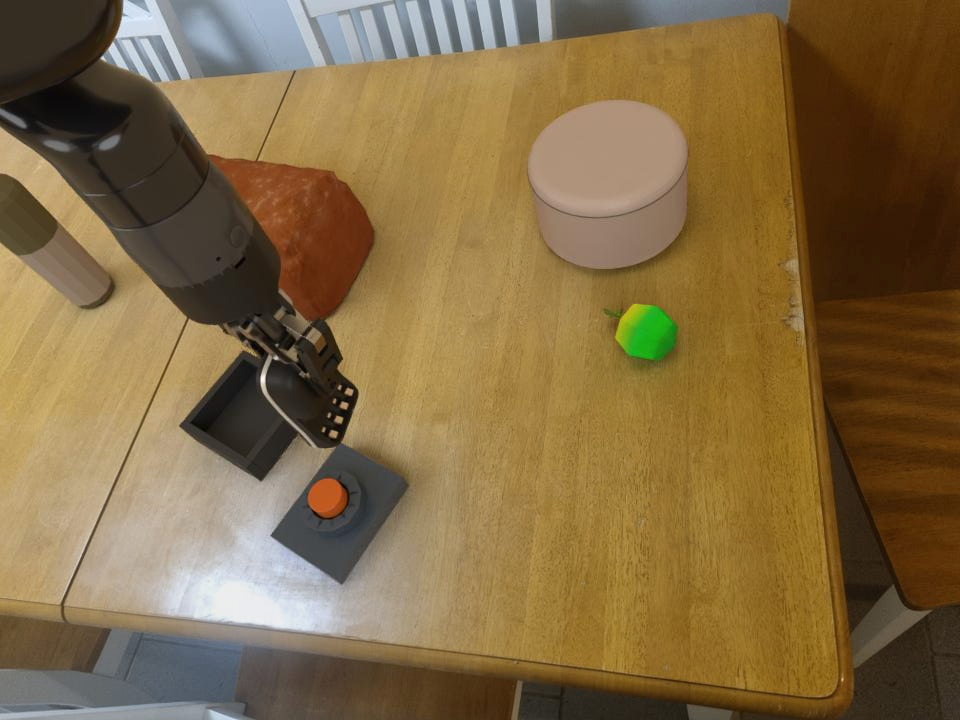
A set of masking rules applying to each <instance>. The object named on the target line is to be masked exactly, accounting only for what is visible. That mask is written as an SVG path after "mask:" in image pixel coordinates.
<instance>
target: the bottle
mask: <svg viewBox="0 0 960 720" xmlns="http://www.w3.org/2000/svg"><path fill="white" fill-rule="evenodd" d="M0 244H1V245H3V247H4V248H6V249H7V250H8V251H9V252H11V253H12V254H13V255H14V256H15V257H16V258H18V259H19V260H20V261H21V262H22V263H24V264H25V265H26V266H28V267H29V268H30V269H31V270H32V271H34V272H35V273H36V274H37V275H38V276H39V277H40V278H41V279H43V280H44V282H47V283H48V284H49V285H50V286H51V287H52V288H54V289H55V290H56V291H57V292H58V293H60V295H62V296H63V297H64V298H66V300H67V301H69V302H70V303H71V304H73V305H75V306H77V307H79V308H81V309H82V310H83V309H93V308H95V307H97V306H98V305H100V304H103V303H104V302H105V301H106V299H108V298H109V296H110V295H112V291H113V289H114V287H115V285H114V281H113V278H112V276H111V275H110V273H109V272H108V271H107V270H106V269H105V268H104V267H103V266H102V265H101V264H100V263H99V261H97V260H96V259H95V258H94V257H93V256H92V255H91V253H90V252H88V251H87V249H85V248H84V246H83V245H81V243H80V242H79V241H78V240H77V239H76V238H75V237H74V236H73V235H72V234H71V233H70V232H69V231H68V230H67V229H66V228H65V227H64V225H62V224H61V223H60V222H59V220H58V219H57V218H55V217H54V215H53V214H52V213H51V212H50V211H49V210H48V209H47V208H46V207H45V206H44V205H43V204H42V203H41V202H40V201H39V200H38V199H37V198H36V197H35V196H34V195H33V193H31V192H30V191H29V190H28V189H27V188H26V187H25V186H24V184H23V183H22V182H21V181H19V180H18V179H16V178H15V177H13V176H11V175H9V174H7V173H1V172H0Z"/></svg>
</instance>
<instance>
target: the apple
mask: <svg viewBox="0 0 960 720" xmlns="http://www.w3.org/2000/svg"><path fill="white" fill-rule="evenodd" d="M601 309H602V311H603V312H604V314H605V315H606V316H609V317H608V318H609V319H610V318H615V319H618V324H617V328H616V333H615V336H614V339H615V341H617V343H618V344H619V345H620V347H621V348H622V349H623V351H624V352H625V353H626V355H628V356H630V357H633V358H637V359H643V360H650V361H656V362H660V361H661V360H662V359H663V358H665V357H666V356H667V355H668V354H669V353H670V352H671V351H672V350H673V349H675V345H676V342H677V341H676V340H677V336H678V332H679V326H678V325H677V323H676V322H675V321H674V320H673V318H671V316H670V315H669V314H668V313H667V312H666V311H665V310H664V309H662V308H660V307H659V306H657V305H651V304H640V303H633V304H632V305H631V306H630V307H629V308H628V309H627V310H626V311H625V312H624V313H623V308H621V309H619V310H618V311H616V312H614V311H612V310H611V309H610V308H601ZM621 314H623V315H621ZM620 315H621V317H620Z"/></svg>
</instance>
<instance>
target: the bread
mask: <svg viewBox="0 0 960 720" xmlns="http://www.w3.org/2000/svg"><path fill="white" fill-rule="evenodd" d="M207 155H208V156H209V157H210V159H211V160H212V161H213V162H214V163H215V164H216V165H217V166H218V167H219V168H220V169H221V170H222V172H223V173H224V174H225V175H226V176H227V177H228V179H229V180H230V181H231V183H232V184H233V185H234V187H235V188H236V190H237V191H238V193H239V194H240V196H241V197H242V199H243V200H244V202H245V203H246V205H247V206H248V208H249V209H250V211H251V212H252V214H253V215H254V217H255V218H256V219H257V221H258V222H259V224H260V225H261V227H262V228H263V230H264V231H265V233H266V234H267V236H268V237H269V239H270V240H271V242H272V243H273V244H274V246H275V247H276V249H277V251H278V253H279V255H280V259H281V273H280V278H279V288H280V289H282V290H283V291H284V292H285V293H286V294H287V295H288V296H289V297H290V299H291V300H292V302H293V307H294V308H295V309H296V310H297V311H298V312H299V313H300V314H301V315H302V316H303V317H304V318H305V319H306V320H307V321H310V322H313V321H314V320H315V319H316V318H319V319H321V320H323V319H325V318H328V317H329V316H330V315H331V314H332V313H333V312H334V311H335V310H336V309H337V308H338V307H339V306H340V305H341V303H342V301H343V300H344V298H345V296H347V293H348V292H349V290H350V288H351V287H352V285H353V283H354V281H355V280H356V278H357V276H358V274H359V272H360V270H361V269H362V268H363V265H364V263H365V261H366V258H367V256H368V255H369V253H370V250H371V249H372V246H373V244H374V237H375V229H374V227H373V224H372V222H371V220H370V218H369V215H368V213H367V211H366V208H365V207H364V206H363V204H362V203H361V201H360V200H359V199H358V198H357V196H356V194H355V193H354V191H353V190H352V189H351V187H350V186H349V185H348V183H347V182H345V181H343V180H341V179H339V178H338V176H337V174H336V172H335V171H334V170H328V169H322V168H314V167H300V166H295V165H290V164H286V163H275V162H270V161H265V160H250V159H246V158H226V157H222V156H219V155H216V154H208V153H207Z"/></svg>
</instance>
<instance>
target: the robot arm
mask: <svg viewBox="0 0 960 720" xmlns="http://www.w3.org/2000/svg"><path fill="white" fill-rule="evenodd" d="M123 14H124V0H0V128H1V129H2V130H4V131H5V132H6V133H7V134H9V135H10V136H12V137H13V138H14V139H16V140H18V141H19V142H20V143H22V144H24V145H25V146H26V147H28V148H30V149H31V150H32V151H34V152H35V153H36V154H38V155H39V156H40V157H42V158H43V160H45V161H46V162H47V163H49V164H50V165H51V166H52V167H53V168H54V169H55V170H56V171H57V172H58V174H59V175H60V176H61V177H62V179H63V180H64V182H66V183H67V185H68V186H69V187H70V188H71V189H72V190H73V191H74V193H76V195H77V196H78V197H79V198H80V199H81V200H82V201H83V203H85V205H87V207H89V209H91V211H92V212H93V213H94V214H95V215H96V216H97V217H98V218H99V219H100V221H102V223H103V224H104V225H105V226H106V227H107V228H108V230H109V231H110V233H111V234H112V236H113V238H114V239H115V240H116V242H117V243H118V245H119V246H120V247H121V249H122V251H124V252H125V253H126V254H127V256H128V257H129V258H130V259H131V260H132V261H133V262H134V263H135V265H137V266H138V268H140V270H142V272H143V273H144V274H145V275H146V276H147V277H148V278H149V279H150V280H151V281H152V282H153V283H154V284H155V285H156V287H157V288H158V289H159V290H160V291H161V292H162V293H163V294H164V295H165V297H167V298H168V300H170V302H171V303H172V304H174V306H175V307H176V308H177V309H178V310H179V311H180V312H181V313H182V314H183V315H184V316H185V317H186V318H187V319H189V320H190V321H192V322H195V323H197V324H201V325H206V326H218V327H219V328H220V329H221V330H222V332H223V333H224V334H225V335H228V336H230V337H233V338H235V339H236V340H237V341H239V342H240V343H241V345H242V346H243V347H245V348H248V349H250V350H252V351H253V352H254V354H256V355H257V357H258V358H260V359H261V360H262V358H263V355H264V353H265V351H266V352H267V353H268V354H270V355H271V356H272V357H273V358H274V359H275V360H276V361H279V362H282V363H285V364H290V365H291V366H292V367H293V368H294V369H295V370H296V371H297V372H298V373H299V375H300V376H301V377H302V378H303V379H304V380H305V381H306V383H307V384H308V385H309V386H310V388H311V389H312V390H313V391H314V392H315V394H316V395H317V396H318V397H320V398H322V399H324V400H326V399H328V398H329V397H330V396H331V395H332V394H333V392H334V391H335V390H336V389H337V387H338V386H339V385H340V383H341V378H340V377H339V375H338V374H337V372H336V371H335V370H334V369H335V368H336V367H337V366H338V367H339V365H340V364H341V363H342V361H343V360H344V356H343V355H342V352H341V350H340V348H339V345H338V343H337V341H336V338H335V335H334V333H333V331H332V329H331V327H330V325H329V324H328V322H327V321H325V320H324V319H319V318H316V319H315V320H314V321H312V323H311V325H310V324H309V323H310V322H309V320H306V319H305V318H304V317H303V316H302V315H301V314H300V313H299V312H298V311H297V310H296V309H295V308H294V307H293V302H292V300H291V299H290V297H289V296H288V295H287V294H286V293H285V292H284V291H283V290H282V289H280V288H279V278H280V273H281V259H280V255H279V253H278V251H277V249H276V247H275V246H274V244H273V243H272V242H271V240H270V239H269V237H268V236H267V234H266V233H265V231H264V230H263V228H262V227H261V225H260V224H259V222H258V221H257V219H256V218H255V217H254V215H253V214H252V212H251V211H250V209H249V208H248V206H247V205H246V203H245V202H244V200H243V199H242V197H241V196H240V194H239V193H238V191H237V190H236V188H235V187H234V185H233V184H232V183H231V181H230V180H229V179H228V177H227V176H226V175H225V174H224V173H223V172H222V170H221V169H220V168H219V167H218V166H217V165H216V164H215V163H214V162H213V161H212V160H211V159H210V157H209V156H208V155H207V154H208V153H207V152H206V150H205V149H204V147H203V146H202V145H201V143H200V142H199V140H198V139H197V138H196V136H195V134H194V133H193V131H192V130H191V129H190V127H189V126H188V124H187V123H186V121H185V120H184V119H183V117H182V115H181V114H180V112H179V111H178V110H177V108H176V106H175V105H174V104H173V103H172V101H171V100H170V99H169V97H168V96H167V95H166V94H165V93H164V91H162V89H161V88H160V87H158V85H156V84H155V83H154V82H153V81H152V80H150V79H149V78H147V77H145V76H143V75H142V74H139V73H137V72H134V71H132V70H129V69H126V68H123V67H120V66H117V65H115V64H113V63H110V62H108V61H106V60H104V59H102V57H104V55H105V54H106V53H107V52H108V50H109V49H110V47H111V46H112V44H113V42H114V41H115V39H116V37H117V35H118V32H119V31H120V27H121V24H122V20H123ZM289 333H290V334H291V336H290V337H289V338H288V339H287V340H286V342H285V343H284V344H283V345H282V346H281V347H280V348H278V347H277V346H276V345H275V344H279V343H281V342H283V341H284V339H285V338H286V337H287V336H288V335H289ZM297 354H298V355H299V357H300V358H301V360H302V362H301V361H300V360H299V359H298V358H297ZM338 364H339V365H338Z"/></svg>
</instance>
